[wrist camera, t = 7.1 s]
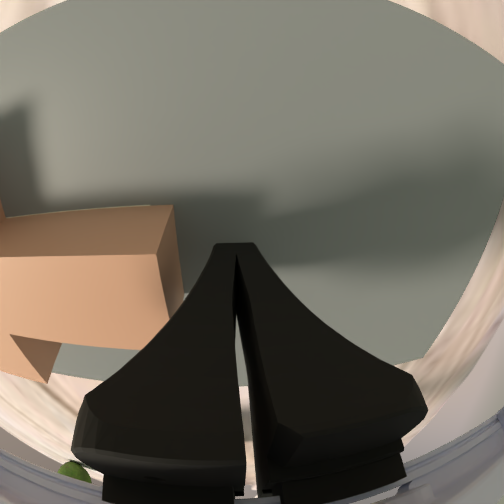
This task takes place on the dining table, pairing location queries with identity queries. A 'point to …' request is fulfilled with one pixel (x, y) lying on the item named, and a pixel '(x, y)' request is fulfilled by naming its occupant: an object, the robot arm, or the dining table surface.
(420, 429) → the dining table surface
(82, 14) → the board
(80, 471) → the avocado
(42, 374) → the t block
